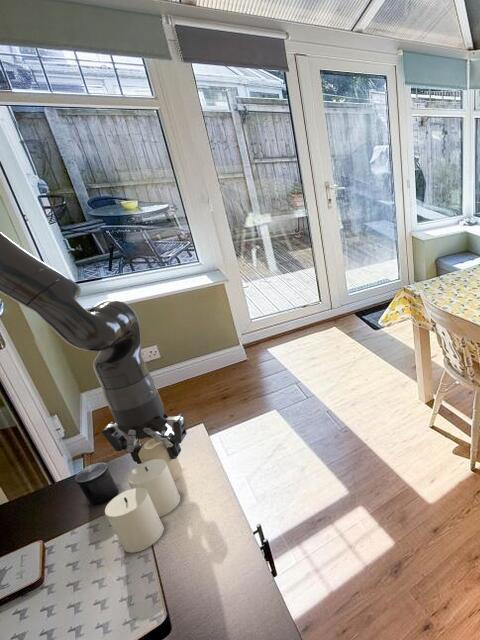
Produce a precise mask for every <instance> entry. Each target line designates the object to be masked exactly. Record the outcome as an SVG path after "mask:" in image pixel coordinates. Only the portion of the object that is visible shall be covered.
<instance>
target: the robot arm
mask: <svg viewBox="0 0 480 640" xmlns="http://www.w3.org/2000/svg"><path fill="white" fill-rule="evenodd" d="M81 293H82V288H81V286H80V285H79V284H78V283H76V282H75V281H74V280H73V279H71V278H69V277H67V275H64V274H63V273H61V272H59V271H58V270H56V269H55V268H53V267H52V266H50V265H48V264H47V263H45V262H44V261H42V260H40V259H39V258H37V257H36V256H34V255H32V254H31V253H29V252H28V251H27V250H25V249H24V248H22V247H20V246H19V245H18V244H17V243H15V242H14V241H12V240H11V239H10V238H8V237H7V236H6V235H5V234H3V233H2V232H1V231H0V294H2V295H4V296H6V297H7V298H9V299H11V300H12V301H14V302H16V303H17V304H20V305H21V306H23V307H25V308H27V309H28V310H30V311H32V312H34V313H35V314H36V315H38V317H39V318H40V319H42V321H43V322H44V323H45V324H46V325H47V326H48V327H50V329H51V330H53V332H54V333H56V335H58V336H59V337H60V339H62V340H63V341H64V342H65V343H67V344H68V345H70V346H71V347H74V348H76V349H78V350H82V351H86V352H98V354H97V355H96V356H95V358H94V359H93V362H92V368H93V371H94V373H95V375H96V378H97V380H98V382H99V384H100V387H101V390H102V394H103V397H104V400H105V402H106V405H107V407H108V408H109V410H110V413H111V415H112V417H113V420H114V421H110V422H109V423H108V424H107V425H106V426H105V427H104V428H103V430H102V431H101V434H102V435H103V437H104V438H105V439H106V440H107V441H108V443H109V444H110V445H111V446H112V448H113V449H114V450H115V451H116V452H122V451H126V452H128V453H129V454H130V456H131V458H132V461H133V462H134V463H136V464H137V465H141V464H142V462H141V460H140V458H139V456H138V452H139V450H140V449H141V448H142V447H143V446H144V444H143V443H140V442H141V440H143V439H146V438H147V439H149V438H150V439H155V440H156V441H158V442H162V443H163V444H165V445H166V446H167V447H166V448H167V451H168V453H169V456H170V458H171V459H176V458H178V456H179V455H180V453H181V451H182V448H181V446H180V445H181V443H182V442H183V441H184V439H185V437H187V432H188V431H187V422H186V414H184V413H179V414H178V415H177V416H169V415H168V414H167V413H166V412H165V408H164V403H163V401H162V398H161V395H160V393H159V390H158V387H157V385H156V382H155V379H154V378H153V376H152V375H151V373H150V372H149V369H148V366H147V364H146V361H145V359H144V356H143V355H142V334H141V323H140V320H139V316H138V315H137V313H136V311H135V310H134V309H133V308H132V306H130V305H129V304H127V303H126V302H123V301H121V300H119V299H106V300H102V301H100V302H98V303H96V304H94V305H93V306H91V307H90V308H88V309H85V308H84V307H83V306H82V305H81V304H80V303H79V302H78V301H77V299H78V298H79V297H80V296H81ZM126 435H127V436H126Z"/></svg>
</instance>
